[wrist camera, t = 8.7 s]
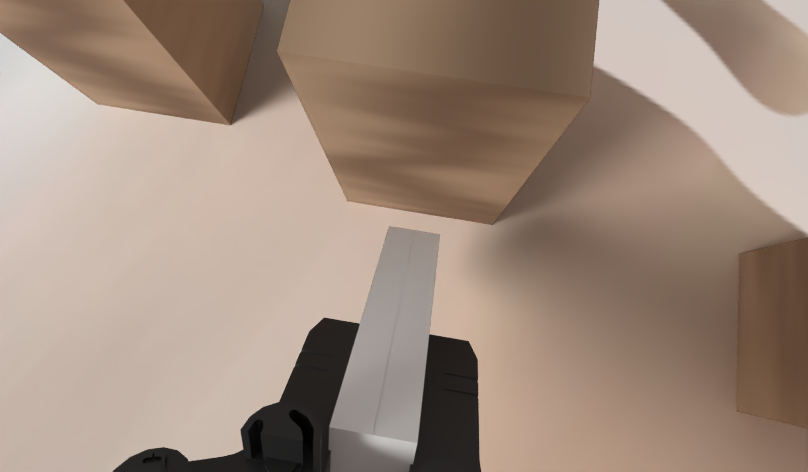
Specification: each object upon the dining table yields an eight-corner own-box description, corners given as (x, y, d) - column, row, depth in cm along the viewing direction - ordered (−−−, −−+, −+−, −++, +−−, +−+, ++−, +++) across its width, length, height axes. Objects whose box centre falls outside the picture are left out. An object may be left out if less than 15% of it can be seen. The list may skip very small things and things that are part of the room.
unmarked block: (347, 201, 18) (276, 51, 9) (374, 72, 20) (339, -188, 10) (492, 224, 18) (590, 97, 8) (509, 92, 19) (613, -155, 9)
